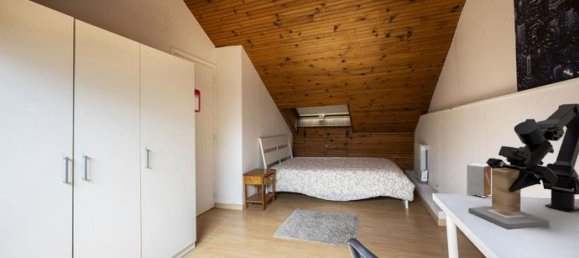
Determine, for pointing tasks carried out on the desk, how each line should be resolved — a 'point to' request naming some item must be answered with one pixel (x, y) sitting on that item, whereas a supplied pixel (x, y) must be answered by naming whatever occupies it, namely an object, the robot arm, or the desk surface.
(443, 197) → the desk surface
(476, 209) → the baseplate
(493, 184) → the oak block
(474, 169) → the small box
